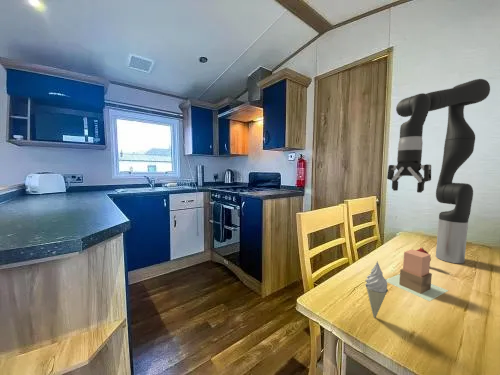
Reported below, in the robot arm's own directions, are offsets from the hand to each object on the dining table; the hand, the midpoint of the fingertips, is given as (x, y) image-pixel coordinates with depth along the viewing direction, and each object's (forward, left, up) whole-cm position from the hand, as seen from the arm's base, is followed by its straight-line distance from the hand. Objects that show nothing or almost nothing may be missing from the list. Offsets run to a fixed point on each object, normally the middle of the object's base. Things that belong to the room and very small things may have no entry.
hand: (406, 191), depth 85 cm
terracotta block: (+16, +12, -24) cm, 31 cm away
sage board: (+15, +11, -30) cm, 36 cm away
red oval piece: (-6, +4, -30) cm, 31 cm away
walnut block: (+16, +12, -29) cm, 35 cm away
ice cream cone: (+40, +14, -30) cm, 52 cm away
